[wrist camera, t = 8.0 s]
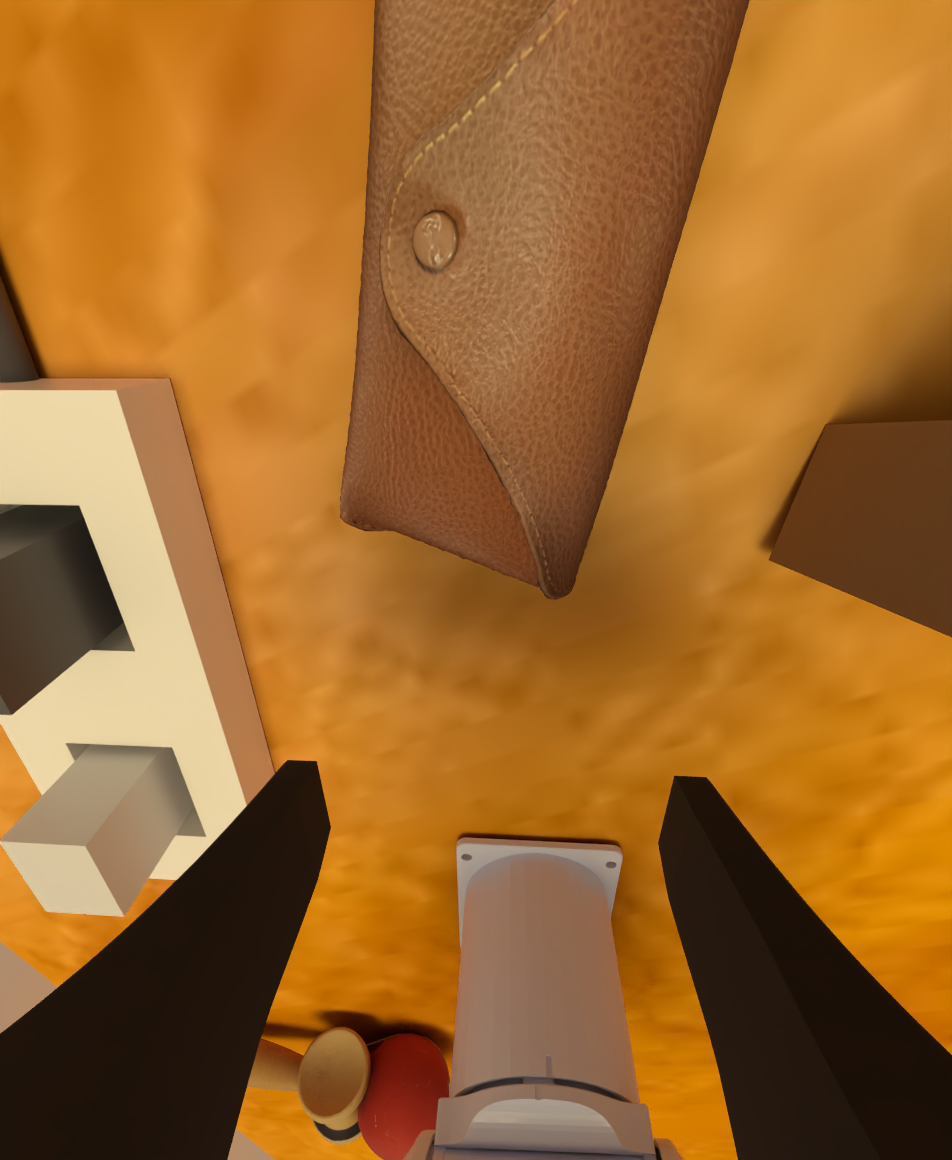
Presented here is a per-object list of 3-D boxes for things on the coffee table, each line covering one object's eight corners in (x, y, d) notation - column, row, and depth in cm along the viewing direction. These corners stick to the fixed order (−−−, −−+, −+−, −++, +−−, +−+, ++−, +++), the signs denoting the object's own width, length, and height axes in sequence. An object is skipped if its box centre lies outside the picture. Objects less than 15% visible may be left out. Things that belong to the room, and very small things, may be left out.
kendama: (232, 1029, 41) (457, 1090, 37) (172, 1133, 35) (433, 1217, 32) (220, 956, 38) (459, 1015, 35) (153, 1055, 32) (434, 1137, 29)
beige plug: (208, 783, 24) (124, 916, 19) (146, 780, 24) (46, 911, 19) (185, 717, 22) (85, 846, 17) (118, 715, 23) (-2, 841, 17)
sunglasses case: (355, -323, 10) (559, -892, 5) (629, -127, 13) (915, -347, 8) (335, 537, 18) (402, 647, 13) (504, 525, 22) (608, 610, 17)
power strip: (291, 837, 27) (231, 983, 21) (122, 828, 27) (18, 969, 21) (42, -102, 12) (-418, -496, 6) (-328, -82, 12) (-1084, -426, 6)
